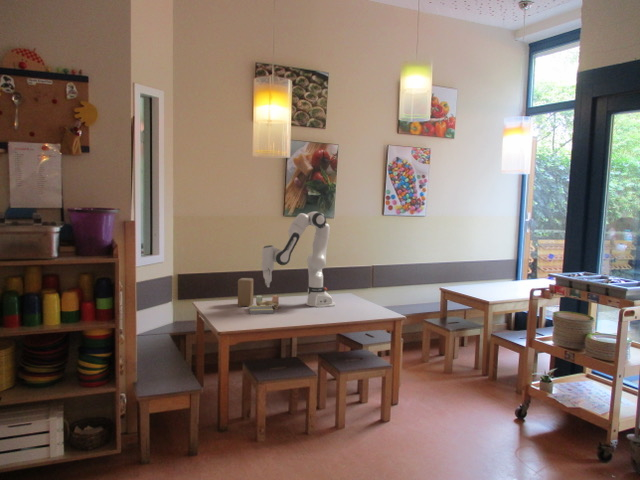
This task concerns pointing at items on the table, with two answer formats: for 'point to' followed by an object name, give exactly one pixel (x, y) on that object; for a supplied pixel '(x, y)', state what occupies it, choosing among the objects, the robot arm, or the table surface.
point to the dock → (260, 309)
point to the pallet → (268, 303)
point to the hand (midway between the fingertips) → (267, 286)
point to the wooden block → (245, 292)
